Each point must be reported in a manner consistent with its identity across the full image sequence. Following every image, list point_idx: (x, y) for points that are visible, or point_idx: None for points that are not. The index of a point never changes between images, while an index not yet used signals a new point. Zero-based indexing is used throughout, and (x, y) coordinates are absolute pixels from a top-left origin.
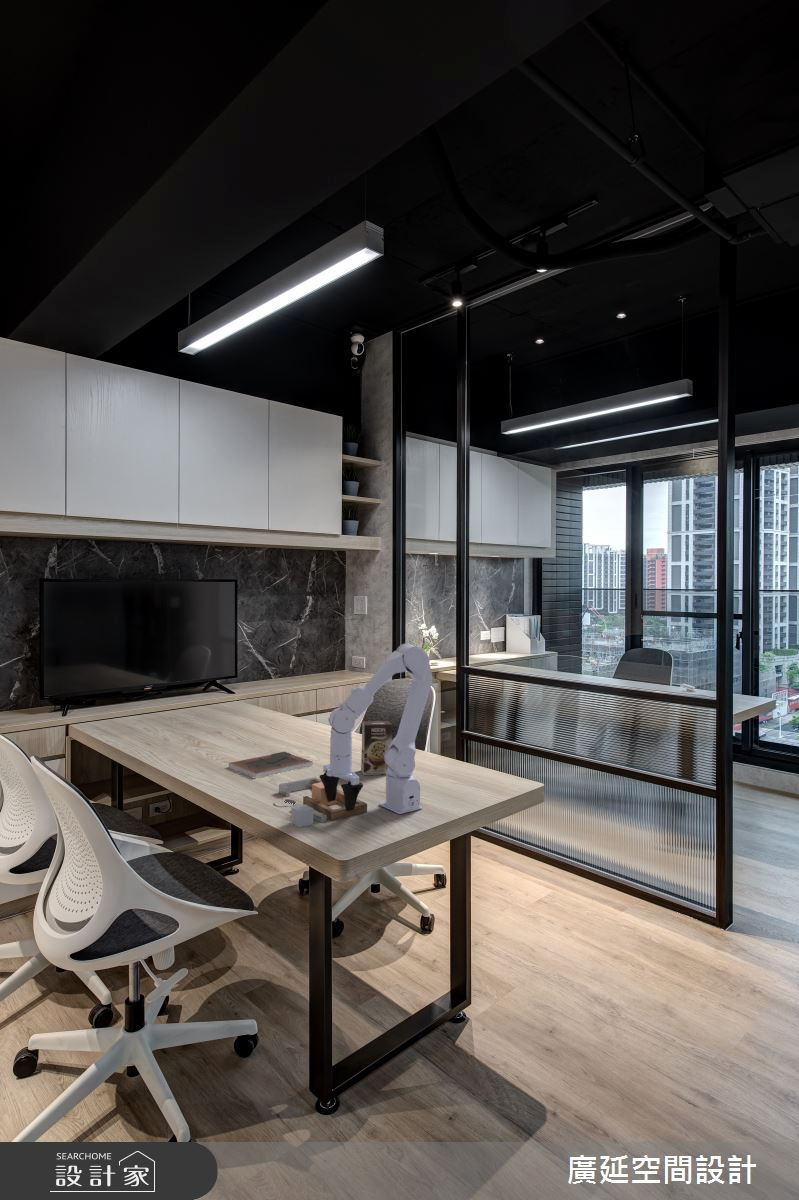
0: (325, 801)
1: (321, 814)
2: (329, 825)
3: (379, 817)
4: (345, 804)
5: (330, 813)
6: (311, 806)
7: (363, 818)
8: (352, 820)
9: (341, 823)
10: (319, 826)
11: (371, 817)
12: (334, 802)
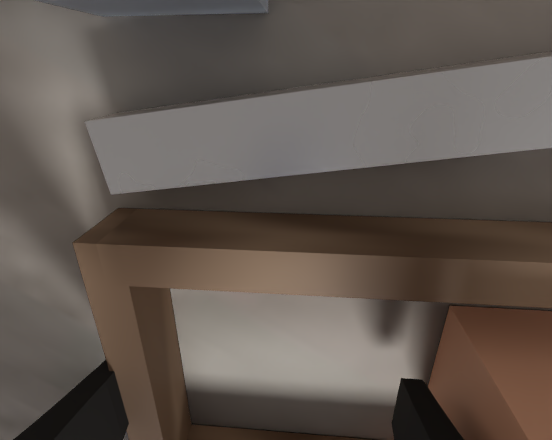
0: (455, 371)
1: (147, 159)
2: (18, 134)
3: None
4: (81, 400)
5: (105, 233)
6: (480, 231)
7: (75, 377)
8: (66, 317)
9: (33, 233)
10: (20, 38)
11: None
12: None
